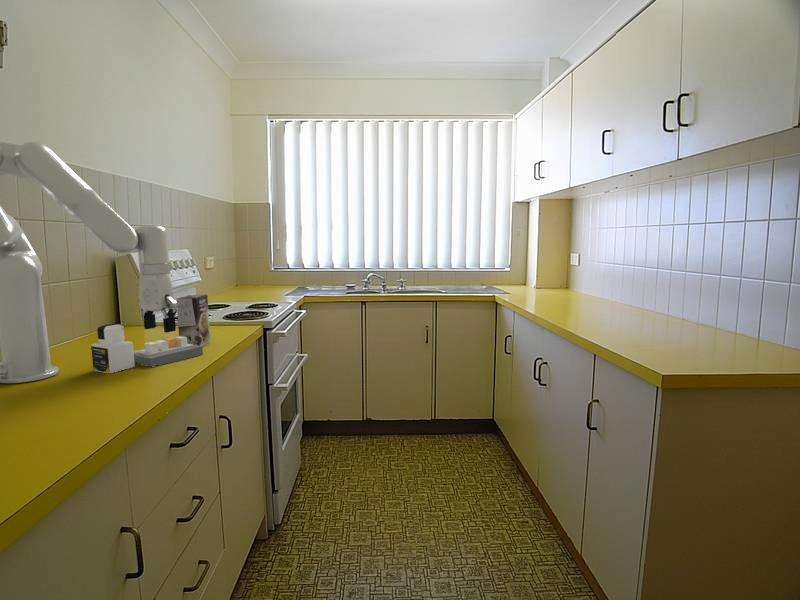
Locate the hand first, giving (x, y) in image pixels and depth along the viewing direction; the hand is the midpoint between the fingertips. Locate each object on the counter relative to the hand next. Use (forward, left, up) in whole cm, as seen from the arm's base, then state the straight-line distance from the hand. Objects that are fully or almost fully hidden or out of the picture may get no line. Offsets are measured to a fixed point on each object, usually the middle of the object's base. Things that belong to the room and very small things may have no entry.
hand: (160, 330), depth 140 cm
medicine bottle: (-13, +1, -9) cm, 16 cm away
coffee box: (+15, +6, -9) cm, 18 cm away
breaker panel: (+1, 0, -9) cm, 9 cm away
